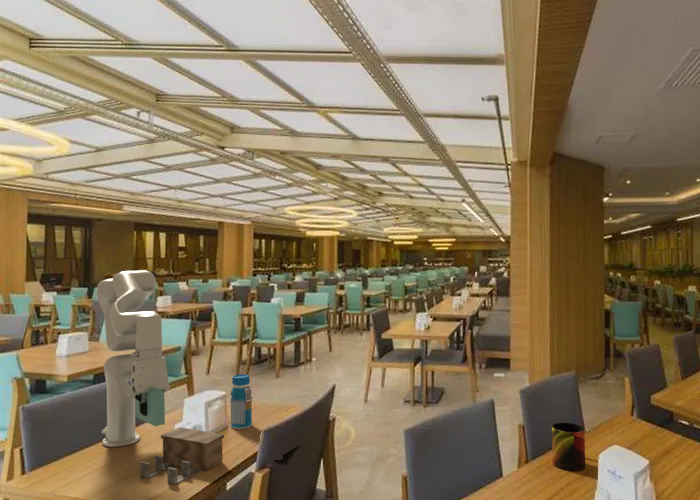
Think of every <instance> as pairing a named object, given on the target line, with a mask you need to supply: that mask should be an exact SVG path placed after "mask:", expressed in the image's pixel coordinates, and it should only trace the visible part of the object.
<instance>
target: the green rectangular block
mask: <svg viewBox="0 0 700 500" xmlns="http://www.w3.org/2000/svg"><path fill="white" fill-rule="evenodd" d="M135 394H138V393H137V392H135ZM146 403H147V416H144V415H142V414H141V413H140V402H139V401H138V400H136V399H135V418H137V419H139V420H141V421H143V422H145V423H147V424H149V425H152V426H154V427H159V426H162V425H165V423H166V422H165V420H166V418H165V414H166V413H165V412H166V411H165V407H166V406H165V404H166V403H165V393H164V390H161V389H153V390H149V392H148V393H146Z"/></svg>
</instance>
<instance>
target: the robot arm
mask: <svg viewBox="0 0 700 500" xmlns="http://www.w3.org/2000/svg"><path fill="white" fill-rule="evenodd" d="M156 281H157V280H156V277H155V275H154V273H152V272H151V271H149V270H125V271H124V270H123V271H119V272H117V273H116V274H114V276H113V277H112V278H107V279H103V280H101V281H100V282H98V284H97V286H96V296H97V301H98V305H99V307H100V308H101V310H102V313H103V318H104V326H105V328H104V329H105V340H106V341H105V343H106V346H107V349H108V350H109V352H112V353H113V352H116V353H117V352H118V353H119V352H128V351H129V352H130V351H133V352H131V353H126V354H118V355H113V356H110V357H109V358H106V360H105V362H104V364H103V371H104V377H105V385H106V426H105V427H104V429H102V430H101V434H104V435H105V437H104V438H103V439H102V446H105V447H110V448H117V447H124V446H128V445H129V446H130V445H132V444H135V443H136V442H138V441H139V440H140V438H141V436H140V433H138V432H136V405H135V399H136V400H138V401H139V402H140V413H141V414H142V415H144V416H147V403H146V393H148V392H149V390H153V389H161V390H164V394H165V393H166V392H167V391H168V390H170V389H171V385H170V383H169V372H168V367H167V366H168V365H167V361H166V357H165V356H163V338H162V337H163V336H162V334H163V332H162V329H163V328H162V327H163V326H162V321H163V320H162V316H161V315H160V314H159V313H158V312H157V311H153V310H148V311H136V310H138V309H140V308H141V307H143V305H144V304H145V301H146V299H147V298H148V297H150V296H151V295H152V294H153V293H154V292H155V290H156V287H157V282H156ZM129 381H130V384H129ZM135 392H137V393H138V394H135Z"/></svg>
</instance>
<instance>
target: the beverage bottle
mask: <svg viewBox="0 0 700 500" xmlns="http://www.w3.org/2000/svg"><path fill="white" fill-rule="evenodd" d="M250 380H251V379H250V375H249V374H244V373H238V374H235V375H232V388H231V391H230V395H231V397H230V401H229V402H230V427H231V428H232V429H235V430H244V429H249V428H250V427H251V426H253V422H252V420H253V419H252V418H253V417H252V410H253V409H252V405H253V404H252V402H253V397H252V390H251V389H252V388H251V387H250Z"/></svg>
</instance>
